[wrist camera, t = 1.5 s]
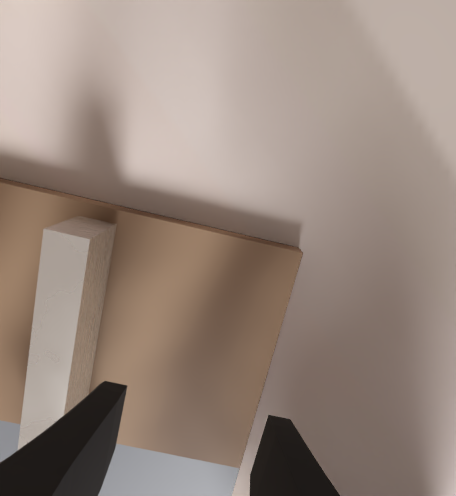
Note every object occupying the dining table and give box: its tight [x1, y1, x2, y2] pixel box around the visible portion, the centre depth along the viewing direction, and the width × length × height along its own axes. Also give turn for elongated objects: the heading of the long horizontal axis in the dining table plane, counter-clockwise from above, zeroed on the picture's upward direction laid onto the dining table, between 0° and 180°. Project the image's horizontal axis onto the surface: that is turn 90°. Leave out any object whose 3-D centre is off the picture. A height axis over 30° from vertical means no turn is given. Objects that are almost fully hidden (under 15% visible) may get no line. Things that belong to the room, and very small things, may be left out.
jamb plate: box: [0, 178, 303, 468], centre depth 18 cm, size 18×12×1 cm, turn 77°
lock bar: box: [18, 216, 117, 450], centre depth 15 cm, size 13×3×3 cm, turn 167°
